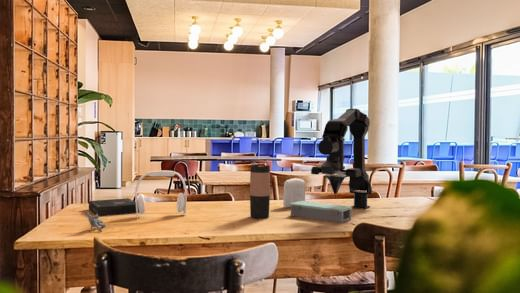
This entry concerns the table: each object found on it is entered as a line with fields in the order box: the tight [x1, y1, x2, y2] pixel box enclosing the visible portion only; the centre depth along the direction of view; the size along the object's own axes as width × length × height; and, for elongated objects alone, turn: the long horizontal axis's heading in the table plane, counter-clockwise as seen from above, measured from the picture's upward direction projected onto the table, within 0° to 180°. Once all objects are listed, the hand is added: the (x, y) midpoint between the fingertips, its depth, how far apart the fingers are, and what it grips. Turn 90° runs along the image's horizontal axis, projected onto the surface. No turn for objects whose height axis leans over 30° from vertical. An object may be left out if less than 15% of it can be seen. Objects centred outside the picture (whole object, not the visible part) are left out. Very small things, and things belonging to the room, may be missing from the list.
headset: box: [134, 169, 188, 220], centre depth 184 cm, size 20×7×18 cm, turn 108°
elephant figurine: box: [83, 210, 107, 233], centre depth 160 cm, size 10×6×9 cm
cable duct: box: [290, 206, 352, 224], centre depth 185 cm, size 8×22×4 cm, turn 55°
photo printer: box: [283, 177, 306, 208], centre depth 209 cm, size 10×4×12 cm, turn 123°
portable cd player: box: [88, 197, 140, 217], centre depth 195 cm, size 16×17×4 cm
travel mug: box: [249, 164, 271, 220], centre depth 184 cm, size 8×8×20 cm
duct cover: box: [290, 200, 353, 215], centre depth 184 cm, size 9×22×2 cm, turn 55°
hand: (335, 193), depth 184 cm, fingers closed
